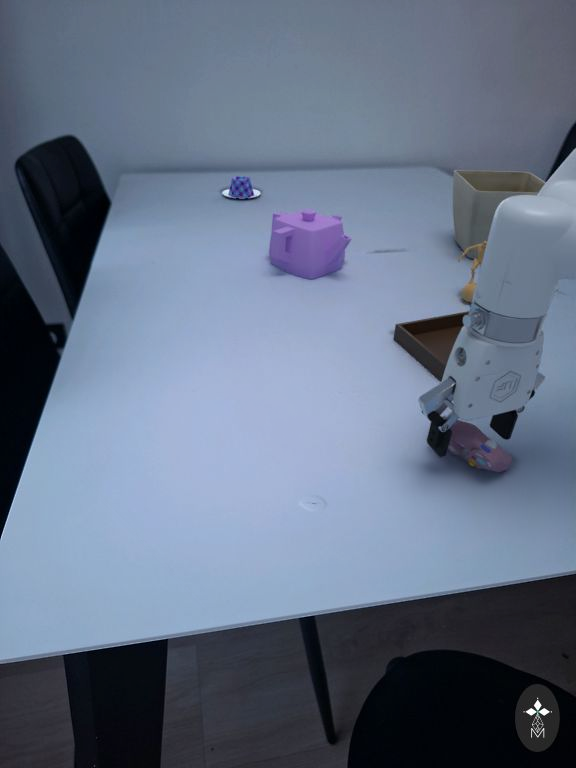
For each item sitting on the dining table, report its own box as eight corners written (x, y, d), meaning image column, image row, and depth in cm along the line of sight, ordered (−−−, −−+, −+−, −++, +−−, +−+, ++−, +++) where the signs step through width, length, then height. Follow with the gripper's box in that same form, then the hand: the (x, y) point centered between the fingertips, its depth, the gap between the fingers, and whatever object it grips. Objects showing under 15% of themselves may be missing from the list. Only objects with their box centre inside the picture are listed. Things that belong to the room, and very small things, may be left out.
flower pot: (540, 266, 124) (563, 192, 114) (459, 264, 123) (476, 190, 114) (511, 239, 140) (530, 171, 130) (439, 237, 139) (452, 169, 130)
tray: (473, 324, 99) (476, 309, 97) (527, 362, 88) (532, 346, 86) (393, 339, 93) (395, 323, 92) (440, 381, 83) (444, 365, 81)
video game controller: (428, 449, 72) (422, 421, 66) (450, 425, 73) (445, 396, 67) (493, 491, 65) (491, 464, 60) (515, 464, 66) (515, 436, 61)
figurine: (446, 300, 107) (459, 242, 100) (453, 290, 111) (466, 233, 105) (489, 310, 104) (504, 251, 97) (494, 299, 108) (510, 241, 102)
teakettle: (269, 251, 127) (269, 198, 120) (340, 252, 128) (344, 200, 121) (268, 280, 113) (269, 222, 106) (348, 281, 114) (353, 224, 107)
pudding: (220, 190, 171) (220, 173, 168) (257, 190, 173) (257, 173, 170) (223, 201, 161) (223, 183, 158) (263, 200, 163) (263, 182, 160)
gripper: (460, 348, 51) (427, 477, 61) (593, 323, 57) (543, 445, 66) (417, 314, 57) (392, 437, 66) (541, 294, 62) (502, 410, 72)
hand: (468, 441), depth 66 cm, fingers open, 9 cm apart
